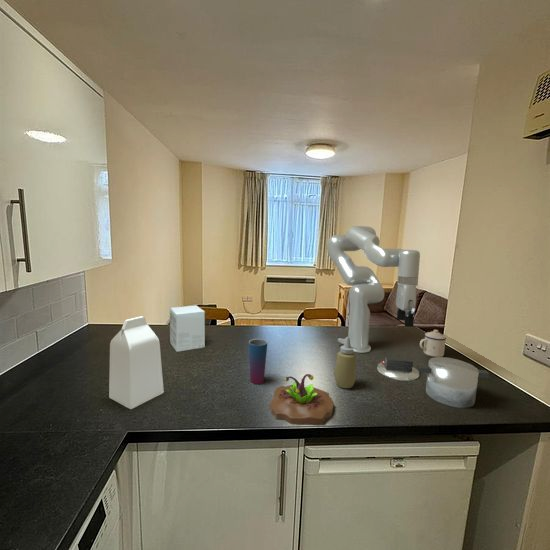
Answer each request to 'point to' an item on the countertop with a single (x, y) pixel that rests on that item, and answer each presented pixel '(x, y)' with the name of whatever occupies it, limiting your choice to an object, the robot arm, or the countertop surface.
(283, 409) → the plant
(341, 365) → the squeeze bottle
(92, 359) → the countertop surface
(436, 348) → the teacup with lid
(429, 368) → the pot
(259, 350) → the cup
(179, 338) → the supplement box
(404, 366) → the lid
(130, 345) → the milk
